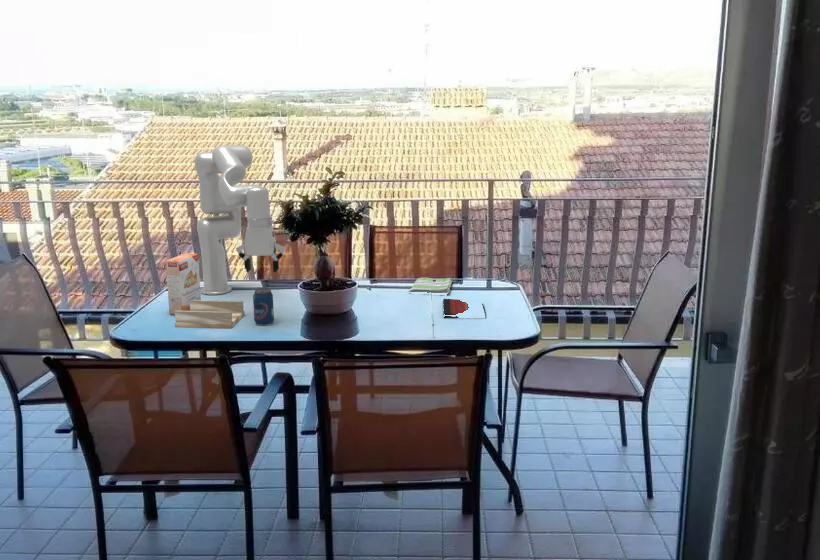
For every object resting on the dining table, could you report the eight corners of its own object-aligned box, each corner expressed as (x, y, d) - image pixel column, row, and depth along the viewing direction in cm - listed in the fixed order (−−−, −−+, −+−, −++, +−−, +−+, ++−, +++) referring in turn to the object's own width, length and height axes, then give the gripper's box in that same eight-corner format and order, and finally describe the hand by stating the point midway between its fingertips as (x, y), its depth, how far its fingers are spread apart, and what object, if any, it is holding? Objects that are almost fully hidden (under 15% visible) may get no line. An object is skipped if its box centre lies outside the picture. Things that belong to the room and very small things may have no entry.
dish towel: (407, 295, 272) (407, 287, 271) (415, 281, 294) (415, 274, 293) (448, 297, 269) (448, 289, 268) (453, 283, 291) (453, 275, 291)
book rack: (192, 313, 244) (191, 299, 243) (244, 314, 243) (243, 300, 242) (175, 327, 229) (173, 312, 227) (230, 328, 228) (229, 313, 226)
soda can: (251, 325, 231) (249, 292, 228) (258, 319, 238) (256, 287, 235) (270, 326, 230) (268, 293, 227) (276, 320, 237) (275, 288, 234)
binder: (443, 313, 240) (443, 297, 260) (442, 319, 240) (442, 303, 261) (486, 316, 239) (483, 300, 259) (486, 322, 240) (482, 305, 260)
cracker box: (183, 316, 241) (179, 261, 236) (169, 315, 242) (164, 260, 237) (202, 305, 254) (198, 253, 249) (188, 304, 256) (184, 252, 250)
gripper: (286, 221, 228) (288, 269, 232) (238, 221, 229) (241, 268, 233) (281, 224, 220) (283, 273, 225) (231, 224, 222) (234, 273, 226)
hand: (262, 271), depth 229 cm, fingers open, 9 cm apart
